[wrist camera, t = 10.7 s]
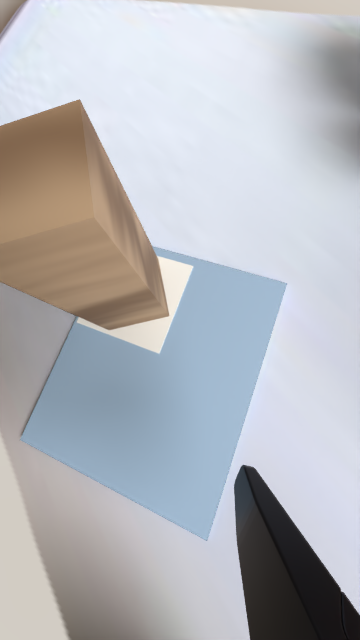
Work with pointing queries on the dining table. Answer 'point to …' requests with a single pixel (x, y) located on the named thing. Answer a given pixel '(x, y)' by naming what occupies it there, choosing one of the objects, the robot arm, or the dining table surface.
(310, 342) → the dining table surface
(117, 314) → the walnut column
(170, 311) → the board
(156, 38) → the dining table surface
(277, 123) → the dining table surface
